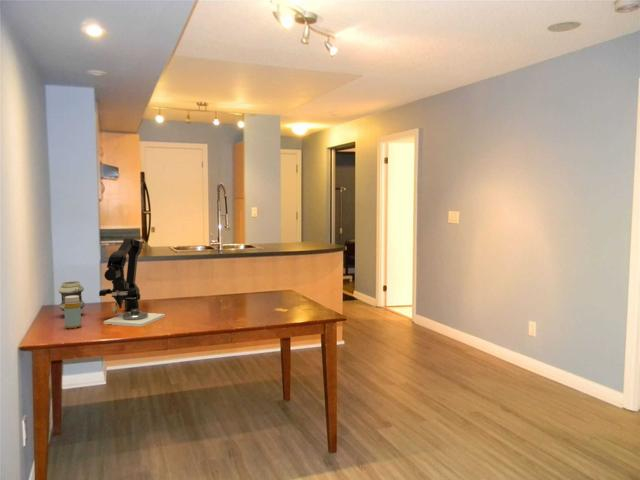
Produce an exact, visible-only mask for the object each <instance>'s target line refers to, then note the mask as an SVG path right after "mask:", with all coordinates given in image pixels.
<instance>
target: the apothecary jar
mask: <svg viewBox="0 0 640 480" xmlns="http://www.w3.org/2000/svg"><path fill="white" fill-rule="evenodd" d="M83 291H85V290H84V286H83V285H82V284H81V283H80V281H78V280H77V281H76V280H75V281H74V280H73V281H72V280H70V281H64V282H62V283H61V286H60V287H59V288H58V293H59V294H61V303H60V304H59V305H58V307H59V309H60V310H61V311H63V312H64V306H65V297H66V296H72V295H78V296H79V303H80V305H81V310H82V309H84V307H85V305H86V304H85V301H83V299H82V297H83V296H82V292H83ZM83 314H84V313H82V312H81V317H82V316H83ZM63 317H65V313H64V314H63V315H62V317H61V318H63Z"/></svg>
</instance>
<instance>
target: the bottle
mask: <svg viewBox="0 0 640 480" xmlns="http://www.w3.org/2000/svg"><path fill="white" fill-rule="evenodd" d="M63 313H64V314H65V318H64V327H65V328H66V329H67V328H75V329H78V328H77V327H79V328H81V326H82V316H81V313H82V309H81V305H80V303H79V296H78V295H72V296H66V297H65V306H64V311H63Z"/></svg>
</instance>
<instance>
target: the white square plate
mask: <svg viewBox="0 0 640 480" xmlns="http://www.w3.org/2000/svg"><path fill="white" fill-rule="evenodd" d="M127 313H130V312H127ZM147 313H148V316H147V317H146V318H142V319H135V320H128V319H123V315H121V314H119V315H117V316H115V317H112V318H111V317H110V318H109V319H106V320H104V321H103V325H107V324H112V326H123V327H124V326H125V327H139V328H141V327H142V328H143V327H144V326H147V325H149V324H152V323H154V322H156V321H158V320H161V319H163V318H165V317H166V314H165V313H155V312H153V313H152V312H151V313H150V312H147Z"/></svg>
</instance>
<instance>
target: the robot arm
mask: <svg viewBox="0 0 640 480" xmlns="http://www.w3.org/2000/svg"><path fill="white" fill-rule="evenodd" d="M143 248H144V247H143V243H142V241H140V240H137V239H135V238H132V237H126V238H123V241H122V243H121V244H120V246H119V248H118V249H117V250H116V251H114V252H112V253H110V255H109V256H108V261H107V264H106V268H107V270H106V271H105V272H104V278H105V280H107V281H109V282H111V284H112V290H111V288H103V289H100V290H99V292H98V296H99V297H105V296H107V295H111V298H113V299H114V300H115V301H116V302H115V303H117V306H118V307H119V309H122V308H123V304H124V310H122V312H124V313H128V312H131V309H139V311H141V309H140V307H139V306H140V305H139V301H140V300H141V293H140V288H139V287H138V285H137V284H136V278H137V269H138V268H137V266H138V258H139V256H140V254H141V253H142V249H143ZM127 255H128V257H127ZM127 260H128V262H127ZM126 263H127V264H126ZM126 265H127V271H126V278H125V266H126ZM123 302H124V303H123Z"/></svg>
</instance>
